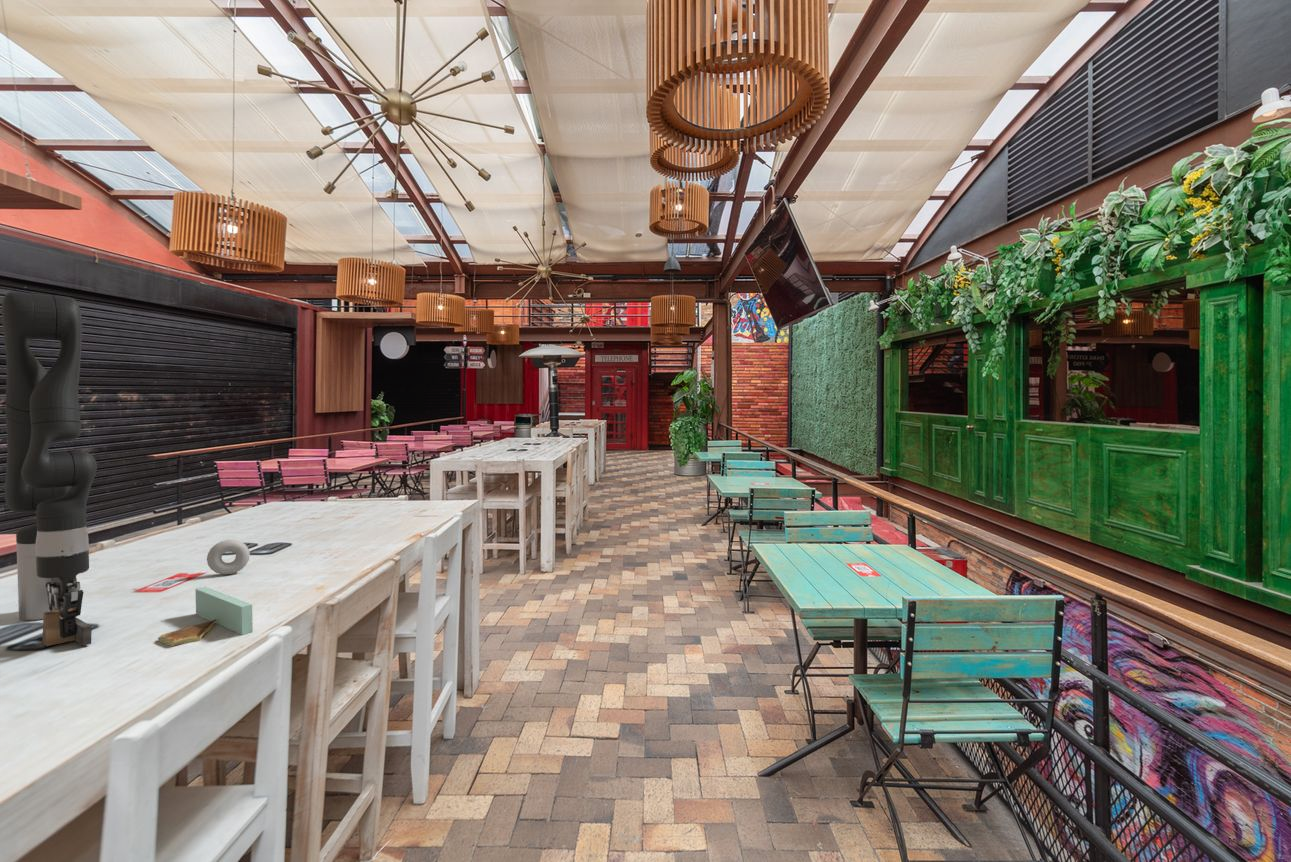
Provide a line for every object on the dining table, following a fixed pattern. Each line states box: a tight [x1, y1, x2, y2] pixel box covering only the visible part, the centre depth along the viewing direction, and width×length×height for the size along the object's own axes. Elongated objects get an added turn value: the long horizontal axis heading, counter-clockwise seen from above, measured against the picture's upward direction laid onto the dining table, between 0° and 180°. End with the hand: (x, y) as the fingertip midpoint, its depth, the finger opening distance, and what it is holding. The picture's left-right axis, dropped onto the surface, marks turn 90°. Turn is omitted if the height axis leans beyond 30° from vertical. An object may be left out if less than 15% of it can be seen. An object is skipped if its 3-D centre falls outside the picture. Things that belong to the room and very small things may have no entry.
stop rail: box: [195, 586, 254, 636], centre depth 128 cm, size 22×2×6 cm, turn 59°
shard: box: [157, 619, 216, 647], centre depth 121 cm, size 11×8×2 cm
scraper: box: [41, 608, 93, 647], centre depth 117 cm, size 13×5×6 cm, turn 58°
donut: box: [206, 539, 251, 575], centre depth 165 cm, size 10×4×10 cm, turn 125°
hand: (65, 634), depth 117 cm, fingers closed on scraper, 3 cm apart
